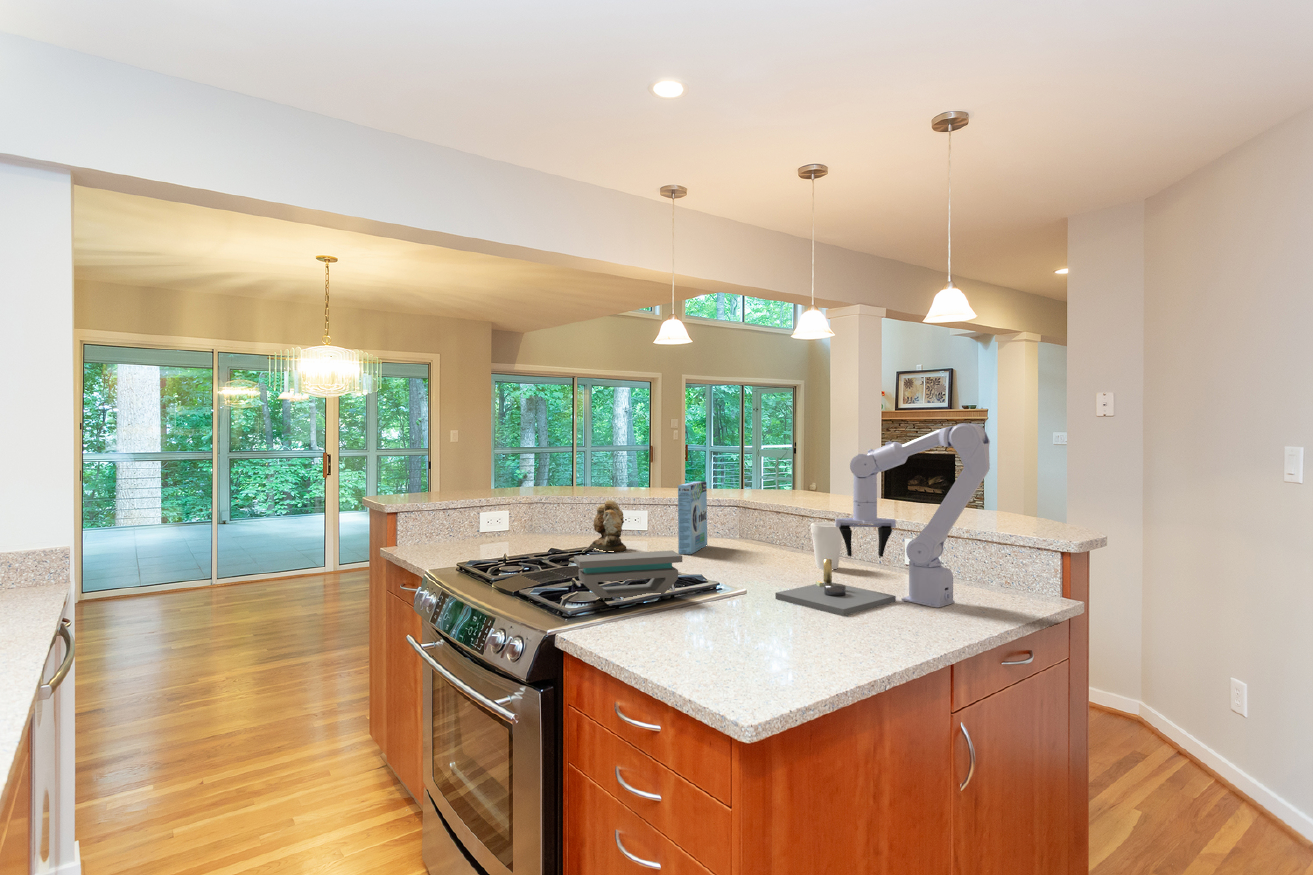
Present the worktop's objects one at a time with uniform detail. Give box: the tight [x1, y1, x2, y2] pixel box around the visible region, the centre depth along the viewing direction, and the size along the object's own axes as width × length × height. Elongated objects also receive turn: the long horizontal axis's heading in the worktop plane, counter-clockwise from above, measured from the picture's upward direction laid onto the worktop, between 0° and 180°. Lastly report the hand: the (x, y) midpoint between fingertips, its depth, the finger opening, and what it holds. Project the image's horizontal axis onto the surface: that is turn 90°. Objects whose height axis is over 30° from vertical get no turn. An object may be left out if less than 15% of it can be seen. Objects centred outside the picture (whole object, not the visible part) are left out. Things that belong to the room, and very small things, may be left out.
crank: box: [823, 559, 846, 596], centre depth 170 cm, size 10×5×7 cm, turn 0°
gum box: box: [677, 481, 708, 555], centre depth 239 cm, size 20×5×23 cm, turn 160°
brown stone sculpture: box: [589, 499, 627, 553], centre depth 241 cm, size 18×12×17 cm, turn 27°
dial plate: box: [774, 580, 897, 617], centre depth 168 cm, size 20×20×2 cm
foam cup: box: [810, 521, 843, 570], centre depth 206 cm, size 10×9×13 cm
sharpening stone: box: [573, 550, 683, 599], centre depth 168 cm, size 25×8×11 cm, turn 106°
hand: (865, 555), depth 175 cm, fingers open, 7 cm apart
